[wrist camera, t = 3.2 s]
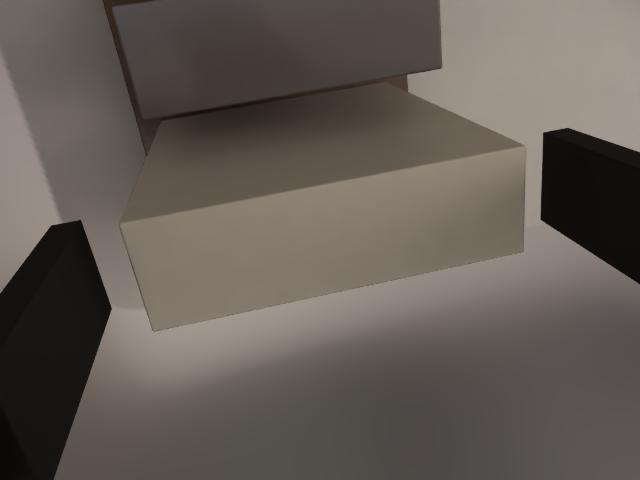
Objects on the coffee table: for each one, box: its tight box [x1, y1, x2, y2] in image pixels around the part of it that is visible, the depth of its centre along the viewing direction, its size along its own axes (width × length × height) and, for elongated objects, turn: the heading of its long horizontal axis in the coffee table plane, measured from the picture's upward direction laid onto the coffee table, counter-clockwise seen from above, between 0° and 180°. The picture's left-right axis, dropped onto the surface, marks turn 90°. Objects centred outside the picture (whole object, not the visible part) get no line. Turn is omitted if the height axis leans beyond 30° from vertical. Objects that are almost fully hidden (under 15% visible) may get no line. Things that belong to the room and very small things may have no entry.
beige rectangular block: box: [119, 82, 526, 332], centre depth 19 cm, size 3×10×12 cm, turn 98°
